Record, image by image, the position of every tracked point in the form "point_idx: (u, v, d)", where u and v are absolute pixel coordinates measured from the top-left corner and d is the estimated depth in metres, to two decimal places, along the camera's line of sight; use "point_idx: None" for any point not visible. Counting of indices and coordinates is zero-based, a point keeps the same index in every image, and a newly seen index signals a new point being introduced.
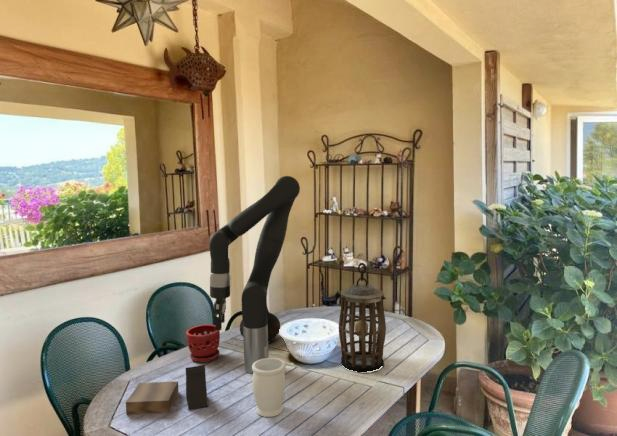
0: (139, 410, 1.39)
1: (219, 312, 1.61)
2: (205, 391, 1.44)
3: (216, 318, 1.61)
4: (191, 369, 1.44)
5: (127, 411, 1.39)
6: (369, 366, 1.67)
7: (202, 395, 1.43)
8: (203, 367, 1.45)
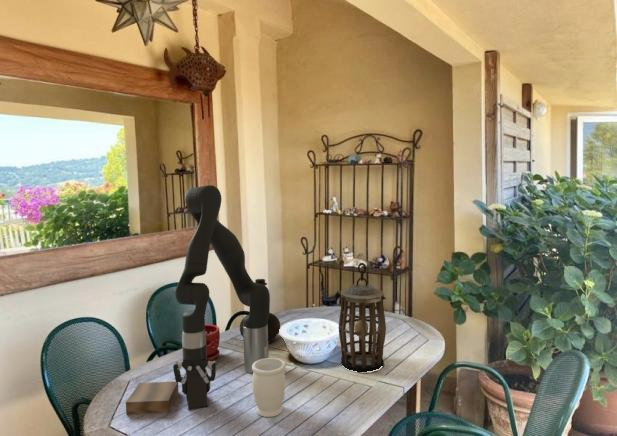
0: (139, 410, 1.39)
1: None
2: (205, 391, 1.44)
3: (214, 377, 1.45)
4: (191, 369, 1.44)
5: (127, 411, 1.39)
6: (369, 366, 1.67)
7: (202, 395, 1.43)
8: None
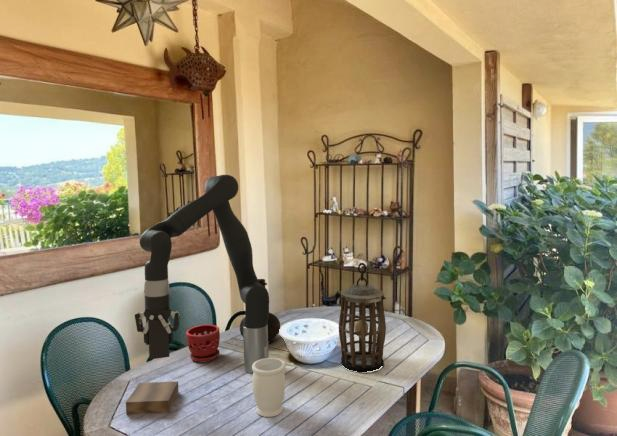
0: (139, 410, 1.39)
1: None
2: (167, 341, 1.42)
3: (177, 328, 1.43)
4: None
5: (127, 411, 1.39)
6: (369, 366, 1.67)
7: (163, 345, 1.41)
8: None
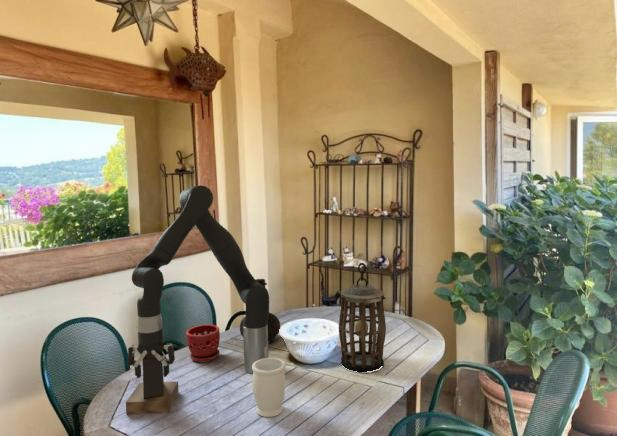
0: (139, 410, 1.39)
1: (173, 352, 1.45)
2: (161, 380, 1.43)
3: (173, 360, 1.44)
4: (147, 358, 1.43)
5: (127, 411, 1.39)
6: (369, 366, 1.67)
7: (158, 384, 1.42)
8: None
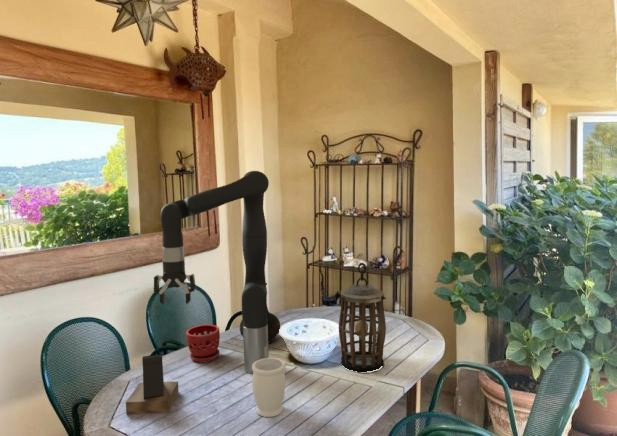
0: (139, 410, 1.39)
1: (194, 282, 1.61)
2: (161, 380, 1.43)
3: (194, 288, 1.60)
4: (147, 358, 1.43)
5: (127, 411, 1.39)
6: (369, 366, 1.67)
7: (158, 384, 1.42)
8: (160, 356, 1.44)
